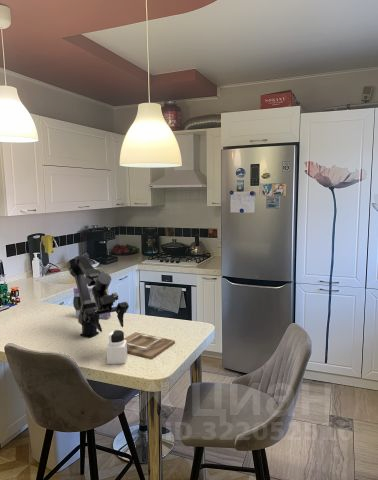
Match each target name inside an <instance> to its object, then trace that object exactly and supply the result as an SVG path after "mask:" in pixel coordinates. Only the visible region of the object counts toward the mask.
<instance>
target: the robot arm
mask: <svg viewBox="0 0 378 480" xmlns="http://www.w3.org/2000/svg"><path fill="white" fill-rule="evenodd" d="M66 268H67V270H68V271H69V274H70V275H71V276H72V277H73V278H74V280H75V284H76V286H77V288H78V292H79V296H80V300H81V303H82V306H81V309H80V314H79V317H78V318H77V321H78V324H80V325H81V333H80V334H79V336H82V337H85V338H88V339H89V338H92V337H95V336H96V335H98V334H99V333H102V332H103V327H102V326H101V323H100V319H99V316H100V315H101V314H106V313H110V314H111V313H113V312H114V313H115V312H116V314H117V315H116V317H117V321H118V322H119V325H120V327H121V328H124V315H125V313H127V311H128V309H129V307H130V306H129V303H128V302H127V301H122V302H118V303H117V305H116V306H114V303H115V302H116V301H118V300H119V295H118V293H117V292H112V293H111V294H109V295H107V292H106V290H107V289H108V290H109V286H110V284H111V282H112V276H111V275H110V274H108V273H106V272H105V271H104V270H103V271H101V270H99V269H96V268H95V267H94V266H93V265H92V264H91V263H90V261H89V259H88V257H87V255H85V254H84V255H83V254H82V255H77V256H74V258H70V259H69V260H68V261H67V262H66ZM87 285H88V286H93V288H92V294H93V296H94V299H95V302H96V303H95V302H92V301H91V298H90V294H89V291H88V287H87ZM94 285H95V286H94ZM97 308H98V309H97Z"/></svg>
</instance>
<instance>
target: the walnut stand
mask: <svg viewBox="0 0 378 480" xmlns="http://www.w3.org/2000/svg"><path fill="white" fill-rule="evenodd" d="M124 340H126V341H127V354H130V355H133V356H137V357H141V358H144V359H149V360H153V359H155V358H156V357H157V356H158V355H160V354H161V353H163V352H164V351H166V350H168V349H169V348H170V347H172V346H173V345H174V344H175V343H176V340H173V339H168V338H164V337H160V336H155V335H150V334H145V333H141V332H133V333H131V334H130V335H128V336H126V337H124Z"/></svg>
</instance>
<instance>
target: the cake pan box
mask: <svg viewBox="0 0 378 480" xmlns="http://www.w3.org/2000/svg"><path fill="white" fill-rule="evenodd" d="M94 286H95V285H94ZM87 287H88V291H89V294H90V298H91V301H92V302H95V299H94V296H93V294H92V288H93V286H88V285H87ZM106 292H107V295H110V294H109V288H108V289H107V290H106ZM95 303H96V302H95ZM72 304H73V308H74V310H75V316H76V317H75V318H76V319H78V317H79V314H80V309H81V306H82V303H81V300H80V296H79V292H78V288H77V285H75V286H74V287H73V300H72ZM97 309H98V308H97ZM111 314H112V313H111V312H110V313H106V314H101V315H100V316H99V320H101V319H102V320H103V319H104V320H107V319H109V318H110V317H111Z"/></svg>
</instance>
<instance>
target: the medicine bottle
mask: <svg viewBox="0 0 378 480" xmlns="http://www.w3.org/2000/svg"><path fill="white" fill-rule="evenodd" d="M124 338H125V333H124V331H122V330H121V329H120V330H119V329H116V330H115V329H114V330H112V331H109V332H108V343H107V345H106V364H107V365H118V364H119V365H121V364H123V365H124V364H126V361H127V358H128V353H127V341H126V340H124Z"/></svg>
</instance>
